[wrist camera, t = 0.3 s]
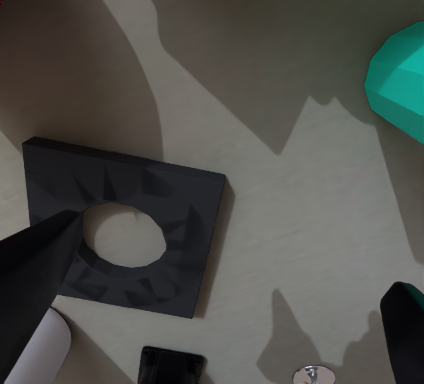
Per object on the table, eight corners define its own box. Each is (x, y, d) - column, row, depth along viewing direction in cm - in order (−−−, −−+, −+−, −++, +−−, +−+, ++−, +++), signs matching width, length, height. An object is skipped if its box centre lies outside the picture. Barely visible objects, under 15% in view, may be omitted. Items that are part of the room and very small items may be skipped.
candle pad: (194, 306, 30) (192, 319, 29) (44, 279, 30) (36, 291, 28) (225, 174, 23) (224, 183, 22) (33, 135, 23) (21, 142, 22)
